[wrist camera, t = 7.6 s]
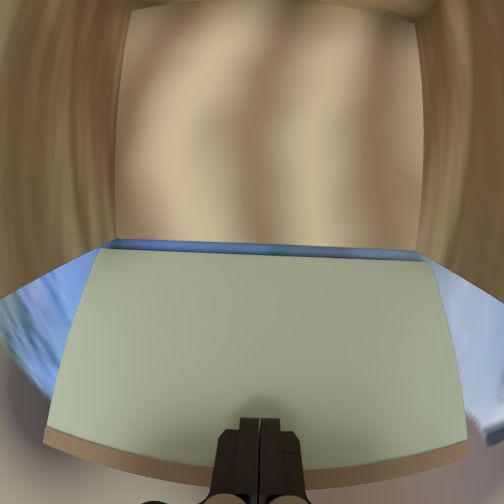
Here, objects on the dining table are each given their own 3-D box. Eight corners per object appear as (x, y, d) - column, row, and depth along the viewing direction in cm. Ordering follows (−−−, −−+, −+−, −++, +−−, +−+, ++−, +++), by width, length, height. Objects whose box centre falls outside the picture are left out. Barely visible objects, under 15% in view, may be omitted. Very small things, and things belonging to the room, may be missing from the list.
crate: (421, 20, 13) (523, -61, 2) (423, 247, 17) (563, 330, 6) (123, 7, 14) (27, -87, 2) (106, 234, 18) (-42, 308, 6)
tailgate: (430, 260, 16) (469, 456, 9) (421, 274, 17) (454, 459, 10) (99, 247, 17) (42, 442, 9) (107, 261, 18) (58, 446, 10)
